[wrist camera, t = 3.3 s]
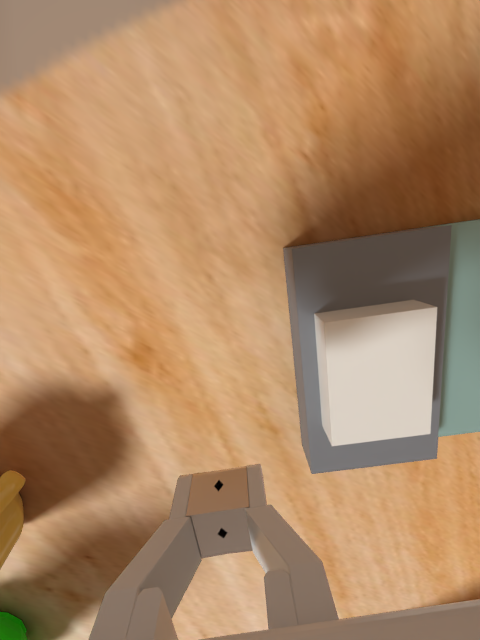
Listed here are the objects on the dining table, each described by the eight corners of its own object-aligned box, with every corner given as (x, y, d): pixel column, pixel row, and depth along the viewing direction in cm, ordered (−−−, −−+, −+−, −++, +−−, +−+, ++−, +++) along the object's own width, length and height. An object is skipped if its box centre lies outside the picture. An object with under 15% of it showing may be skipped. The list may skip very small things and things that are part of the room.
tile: (410, 414, 18) (430, 433, 17) (322, 425, 19) (331, 446, 17) (413, 299, 16) (437, 306, 14) (314, 313, 16) (324, 322, 15)
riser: (411, 430, 22) (436, 458, 19) (302, 444, 23) (311, 474, 20) (417, 228, 18) (451, 225, 15) (283, 247, 18) (291, 248, 15)
